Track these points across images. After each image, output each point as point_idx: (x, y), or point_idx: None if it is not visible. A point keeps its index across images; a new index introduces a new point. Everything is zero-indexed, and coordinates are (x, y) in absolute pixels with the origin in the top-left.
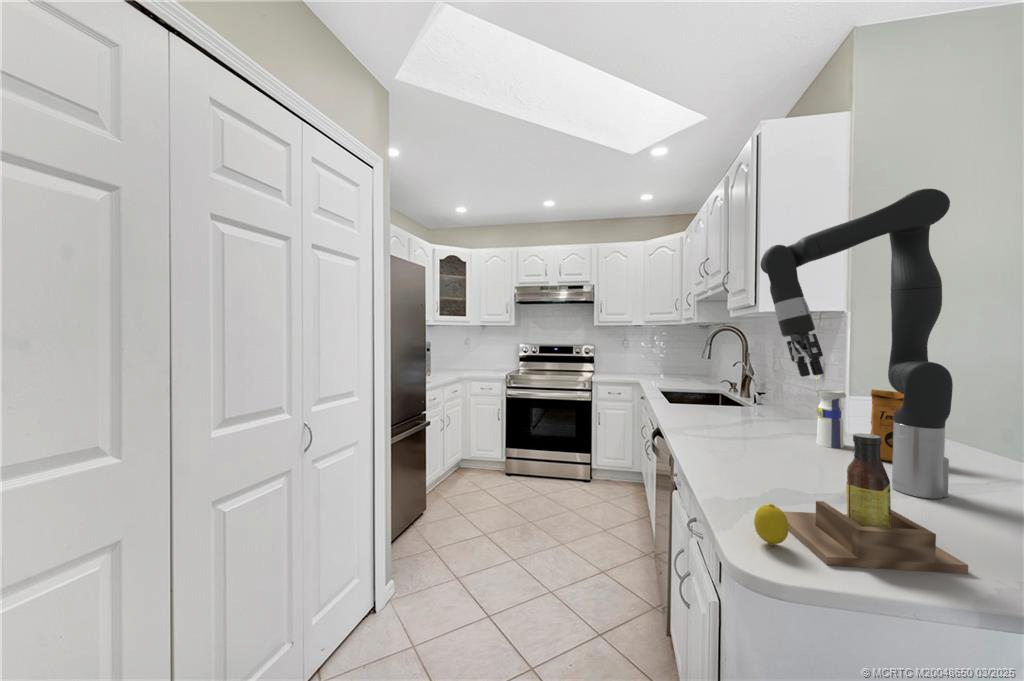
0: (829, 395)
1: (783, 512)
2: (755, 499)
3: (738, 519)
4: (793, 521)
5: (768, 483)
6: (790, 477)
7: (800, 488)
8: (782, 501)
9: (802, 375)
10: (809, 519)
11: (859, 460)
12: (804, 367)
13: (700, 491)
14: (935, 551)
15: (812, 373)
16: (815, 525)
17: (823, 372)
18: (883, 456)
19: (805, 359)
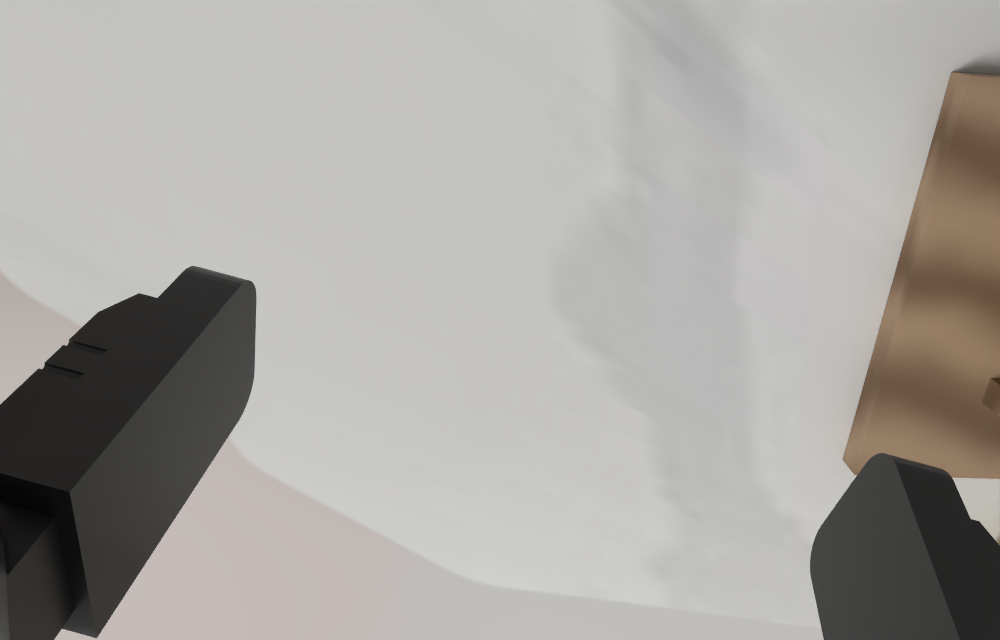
0: None
1: (870, 449)
2: (682, 446)
3: None
4: (942, 455)
5: (498, 308)
6: (398, 148)
7: (559, 191)
8: (707, 356)
9: (246, 397)
10: (937, 395)
11: None
12: (161, 450)
13: (599, 598)
14: None
15: (815, 586)
16: (982, 402)
17: (947, 474)
18: None
19: (3, 568)
